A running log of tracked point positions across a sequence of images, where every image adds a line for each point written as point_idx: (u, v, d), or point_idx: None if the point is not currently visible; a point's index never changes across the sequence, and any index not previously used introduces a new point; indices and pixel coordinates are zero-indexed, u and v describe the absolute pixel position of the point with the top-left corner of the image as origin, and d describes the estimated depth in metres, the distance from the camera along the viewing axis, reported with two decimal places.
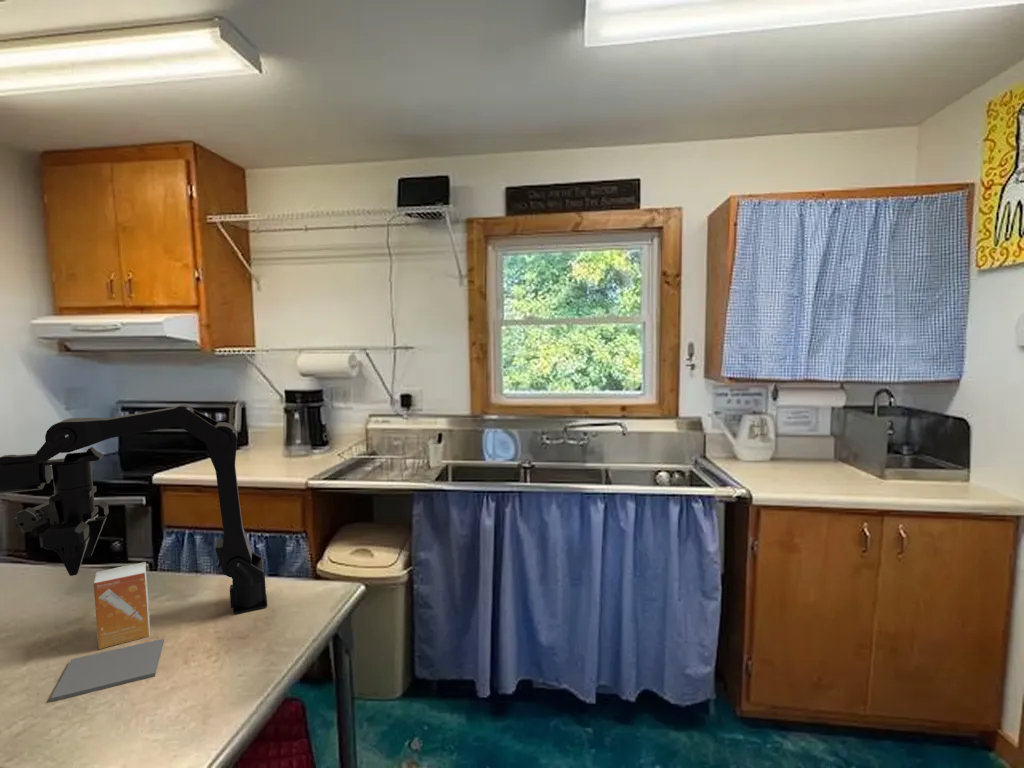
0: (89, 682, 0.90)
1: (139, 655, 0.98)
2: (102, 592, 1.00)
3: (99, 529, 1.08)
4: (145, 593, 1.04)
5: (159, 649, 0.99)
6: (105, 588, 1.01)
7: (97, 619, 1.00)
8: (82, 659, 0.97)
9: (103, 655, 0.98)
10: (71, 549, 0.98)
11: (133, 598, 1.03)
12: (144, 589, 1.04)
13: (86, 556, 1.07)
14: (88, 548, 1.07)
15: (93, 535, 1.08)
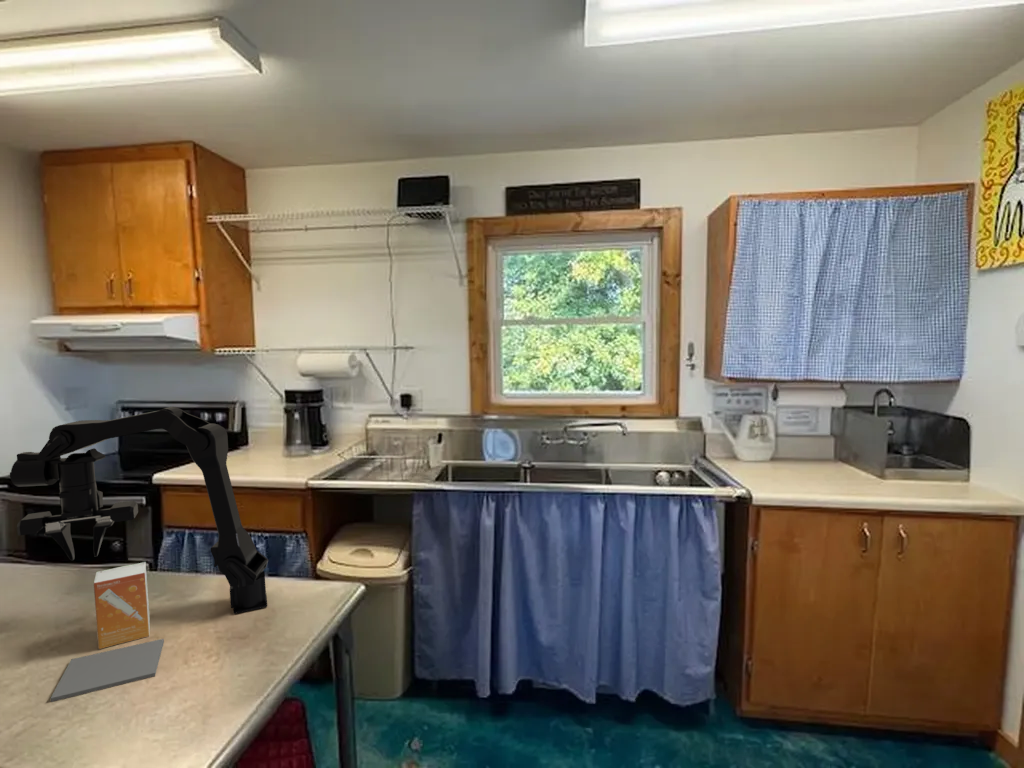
0: (89, 682, 0.90)
1: (139, 655, 0.98)
2: (102, 592, 1.00)
3: None
4: (145, 593, 1.04)
5: (159, 649, 0.99)
6: (105, 588, 1.01)
7: (97, 619, 1.00)
8: (82, 659, 0.97)
9: (103, 655, 0.98)
10: None
11: (133, 598, 1.03)
12: (144, 589, 1.04)
13: None
14: None
15: None
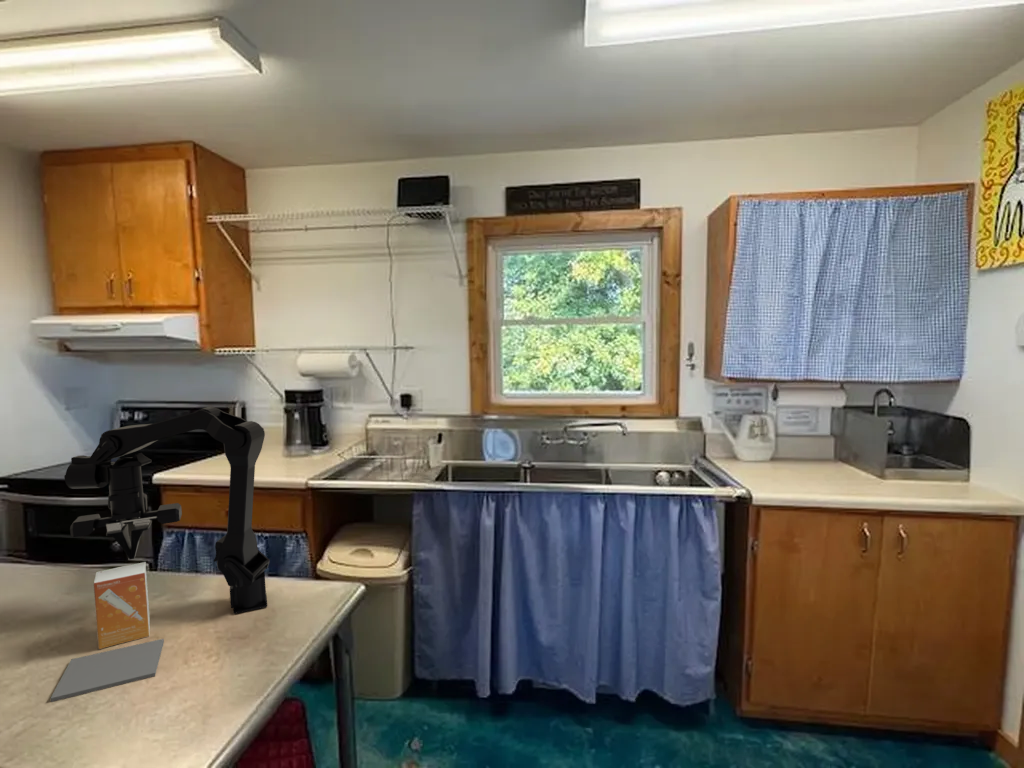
0: (89, 682, 0.90)
1: (139, 655, 0.98)
2: (102, 592, 1.00)
3: None
4: (145, 593, 1.04)
5: (159, 649, 0.99)
6: (105, 588, 1.01)
7: (97, 619, 1.00)
8: (82, 659, 0.97)
9: (103, 655, 0.98)
10: None
11: (134, 598, 1.03)
12: (144, 589, 1.04)
13: None
14: None
15: None
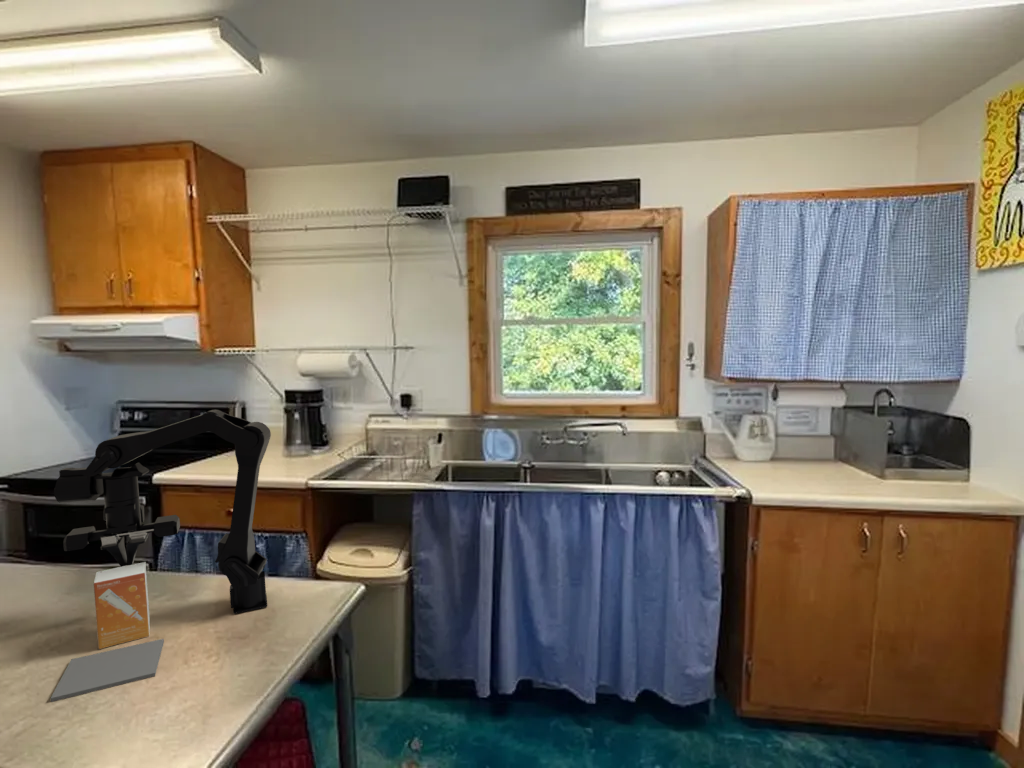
0: (89, 682, 0.90)
1: (139, 655, 0.98)
2: (102, 592, 1.00)
3: (127, 551, 1.09)
4: (145, 593, 1.04)
5: (159, 649, 0.99)
6: (105, 588, 1.01)
7: (97, 619, 1.00)
8: (82, 659, 0.97)
9: (103, 655, 0.98)
10: None
11: (133, 598, 1.03)
12: (144, 589, 1.04)
13: None
14: None
15: None
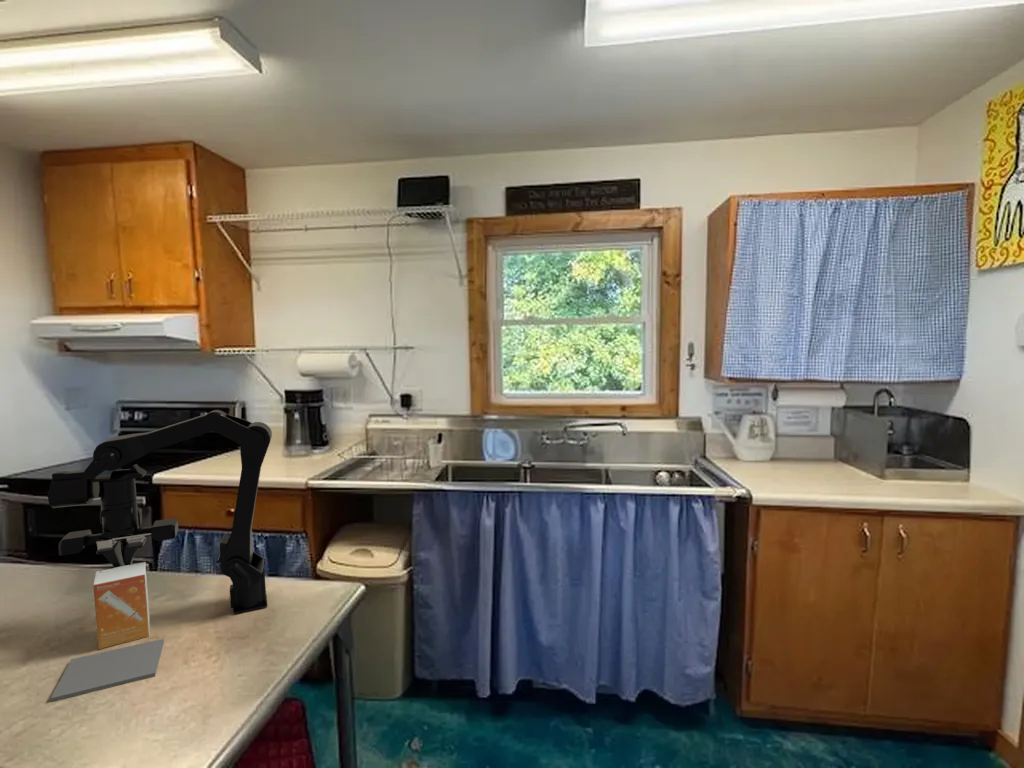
0: (89, 682, 0.90)
1: (139, 655, 0.98)
2: (101, 593, 1.00)
3: None
4: (145, 594, 1.04)
5: (159, 649, 0.99)
6: (105, 590, 1.00)
7: (97, 620, 1.00)
8: (82, 659, 0.97)
9: (103, 655, 0.98)
10: None
11: (133, 599, 1.03)
12: (144, 590, 1.04)
13: None
14: None
15: None
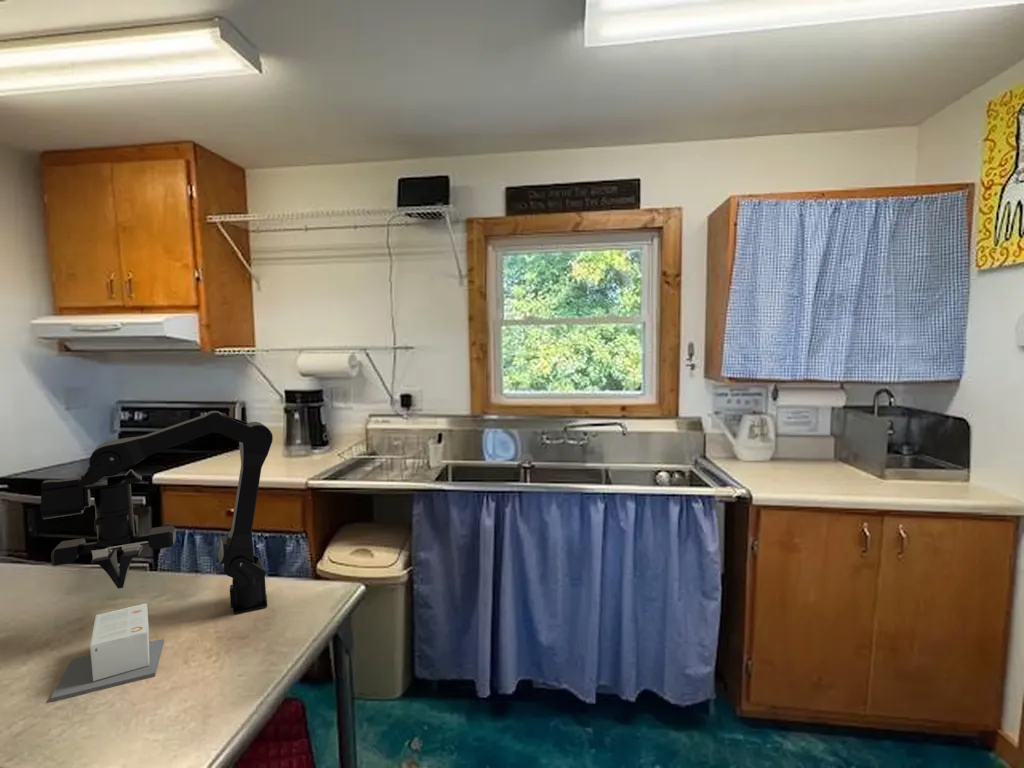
0: (89, 682, 0.90)
1: None
2: None
3: None
4: None
5: (159, 649, 0.99)
6: None
7: None
8: (82, 659, 0.97)
9: None
10: None
11: None
12: None
13: None
14: None
15: (120, 568, 1.03)
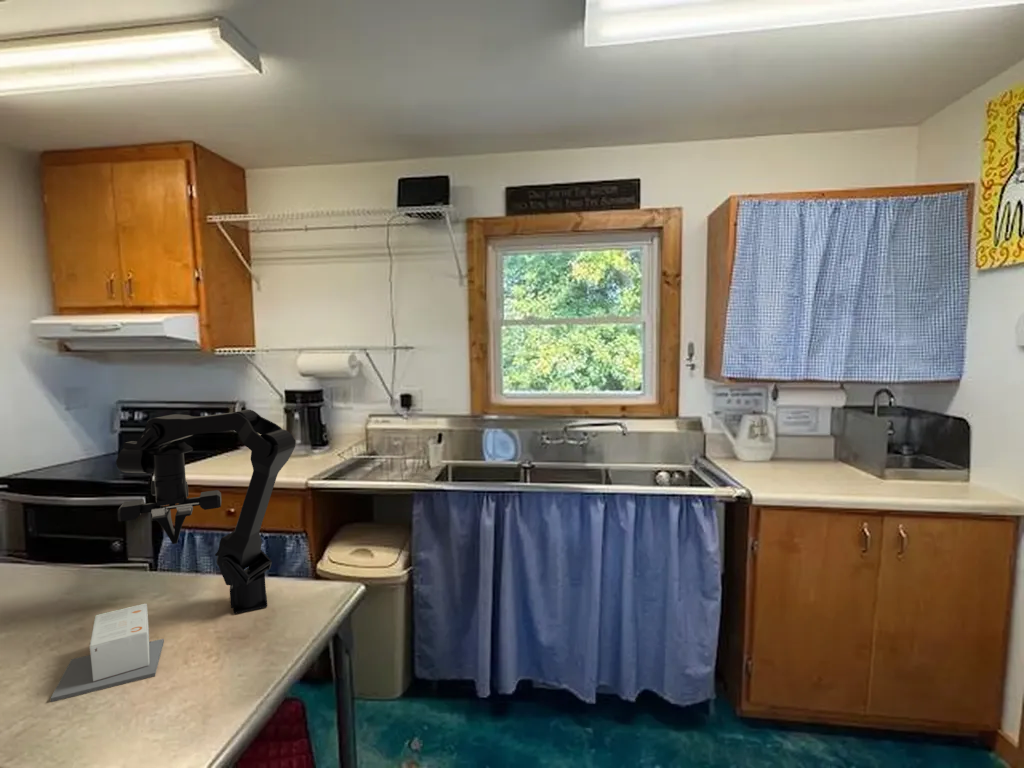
0: (89, 682, 0.90)
1: None
2: None
3: (175, 522, 1.16)
4: None
5: (159, 649, 0.99)
6: None
7: None
8: (82, 659, 0.97)
9: None
10: None
11: None
12: None
13: None
14: None
15: (175, 525, 1.17)
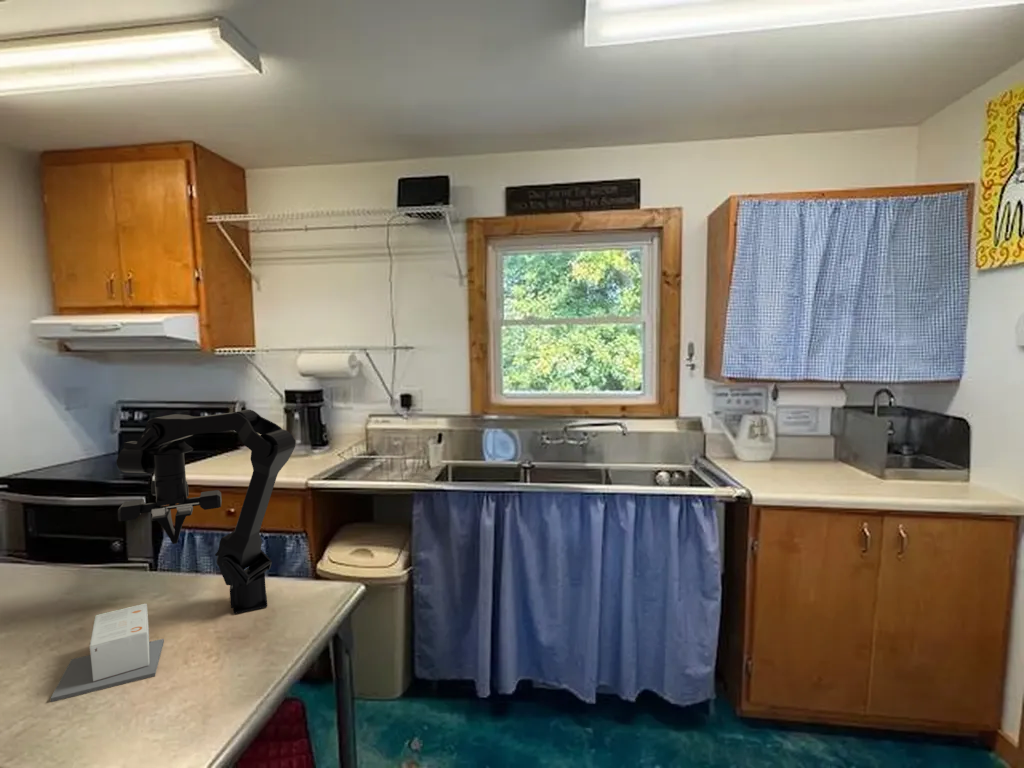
0: (89, 682, 0.90)
1: None
2: None
3: (175, 522, 1.16)
4: None
5: (159, 649, 0.99)
6: None
7: None
8: (82, 659, 0.97)
9: None
10: None
11: None
12: None
13: None
14: None
15: (175, 525, 1.17)
